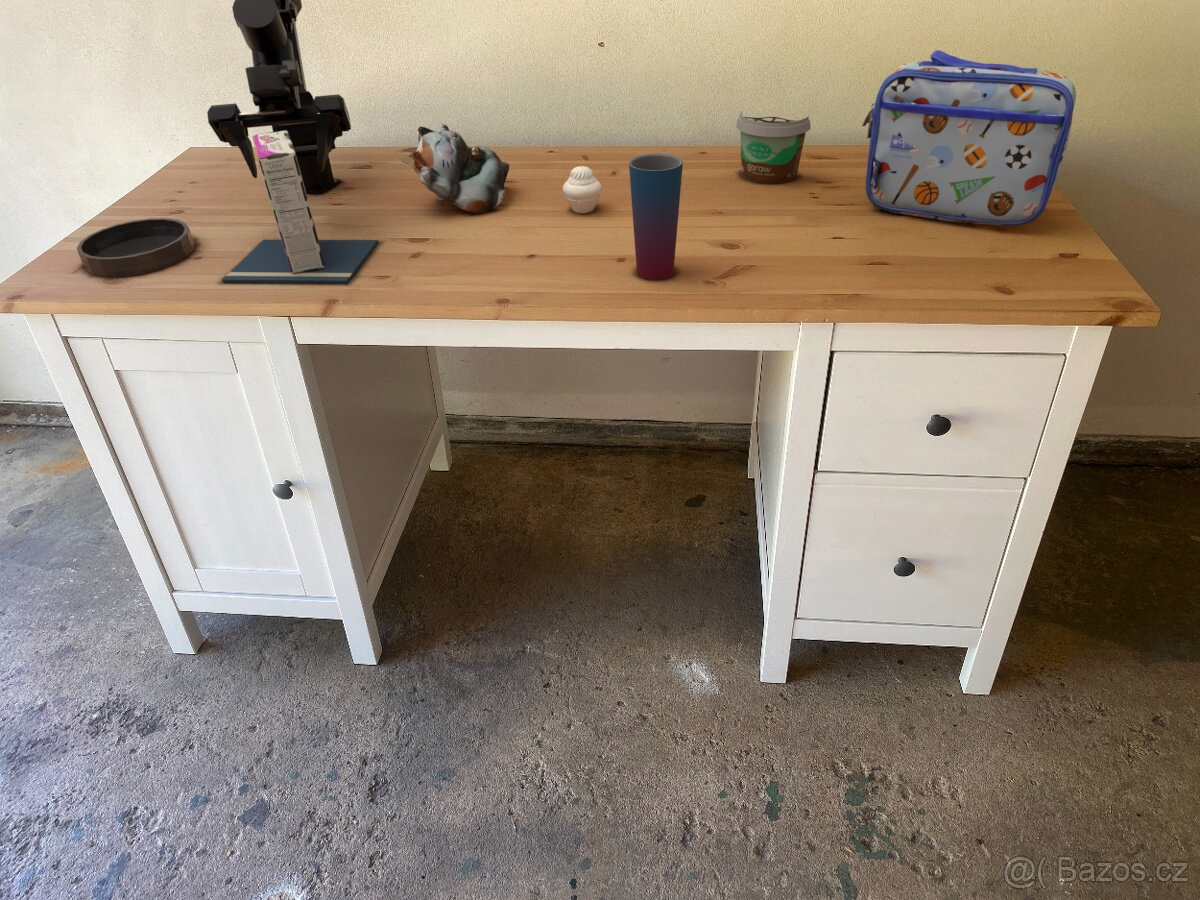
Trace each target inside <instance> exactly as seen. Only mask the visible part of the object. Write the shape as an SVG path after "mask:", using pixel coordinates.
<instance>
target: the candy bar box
mask: <svg viewBox="0 0 1200 900" xmlns="http://www.w3.org/2000/svg"><path fill="white" fill-rule="evenodd" d="M252 142H253V145H254V151H255V153H256V158H257V162H258V165H259V169H260V173H261V177H262V180H263V184H264V187H265V190H266V194H267V197H268V201H269V205H270V207H271V211H272V214H273V217H274V221H275V224H276V228H277V231H278V234H279V237H280V240H281V241H282V244H283V248H284V251H285V254H286V257H287V260H288V263H289V266H290V269H291V272H292V274H297V273H303V272H307V271H312V270H317V269H322V268H325V264H324V260H323V256H322V252H321V248H320V244H319V240H320V239H319V237H318V232H317V229H316V225H315V222H314V217H313V214H312V210H311V206H310V203H309V198H308V195H307V192H306V191H305V187H304V184H303V180H302V176H301V172H300V169H299V165H298V161H297V158H296V154H295V151H294V148H293V145H292V142H291V139H290V136H289V134H288V132H287V130H286V131H277V132H273V131H271V132H270V131H269V132H265V133H257V134H254V135H252Z"/></svg>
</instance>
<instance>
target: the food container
mask: <svg viewBox="0 0 1200 900" xmlns="http://www.w3.org/2000/svg"><path fill="white" fill-rule="evenodd" d="M735 127H736V129H737V130H738V131H739V133H740V163H741V176H742V177H743V178H744V179H746V180H747V181H750V182H753V183H758V184H771V185H773V184H782V183H786V182H787V183H788V182H790V181H792V180H795V179H796V177H797V175H798V171H799V166H800V162H801V157H802V152H803V148H804V143H805V138H806V133H808V132H809V131H810V130H811V129H812V127H811V119H810V115H807V116H806V117H804V118H802V119H798V120H793V119H787V118H783V117H778V116H764V117H750V116H743V111H742V110H741V111H740V112H739V114H738V117H737V121H736V125H735Z"/></svg>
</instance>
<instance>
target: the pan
mask: <svg viewBox="0 0 1200 900" xmlns="http://www.w3.org/2000/svg"><path fill="white" fill-rule="evenodd" d="M190 229H191V228H190V226H189V225H188V224H187V223H186V222H184V221H182V220H179V219H175V218H169V217H168V218H167V217H155V218H154V217H151V218H142V219H134V220H129V221H125V222H120V223H117V224H114V225H111V226H108V227H104V228H101V229H99V230H97V231H95V232H93V233H91V234H89V235H87V236H86V237H84V238H83V239H82V240H80V242H79V243H78V245H77V246H76V251H77V253H78V256H79V258H80V260H81V262H82V264H83V267H84V269H85V271H86V272H88V273H89V274H91V275H94V276H96V277H97V276H98V277H103V278H124V277H125V278H126V277H134V276H139V275H144V274H149V273H153V272H156V271H159V270H163V269H165V268H168V267H170V266H173V265H175V264H177V263H179V262H181V261H183V260H185V259H186V258H187V257H188V256H190V254H192V252H194V250H195V241H194V238H193V235H192V233H191V230H190Z"/></svg>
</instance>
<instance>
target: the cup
mask: <svg viewBox="0 0 1200 900" xmlns="http://www.w3.org/2000/svg"><path fill="white" fill-rule="evenodd" d="M683 167H684V161H683V159H682V158H681V157H680V156H677V155H675V154H671V153H670V154H669V153H664V152H663V153H662V152H652V153H651V152H650V153H643V154H639V155H636V156H633V157H632V158H630V159H629V160H628V172H629V185H630V186H629V187H630V199H631V212H632V224H633V239H634V252H635V253H634V254H635V267H636V274H637V275H638V277H640V278H641V279H644V280H648V281H660V280H661V281H662V280H665V279H668V278H670V277H672V276H673V275H674V272H675V259H676V248H677V236H678V223H679V212H680V202H681V201H680V200H681V189H682V180H683V179H682V177H683Z"/></svg>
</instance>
